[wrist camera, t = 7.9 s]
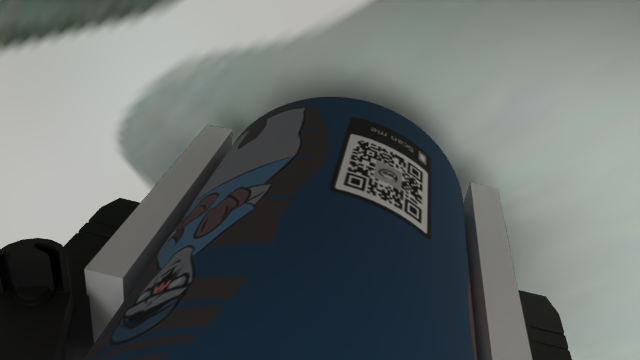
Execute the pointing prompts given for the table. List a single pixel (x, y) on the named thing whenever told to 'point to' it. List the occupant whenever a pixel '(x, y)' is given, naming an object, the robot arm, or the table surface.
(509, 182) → the table surface
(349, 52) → the table surface
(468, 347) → the soda can
